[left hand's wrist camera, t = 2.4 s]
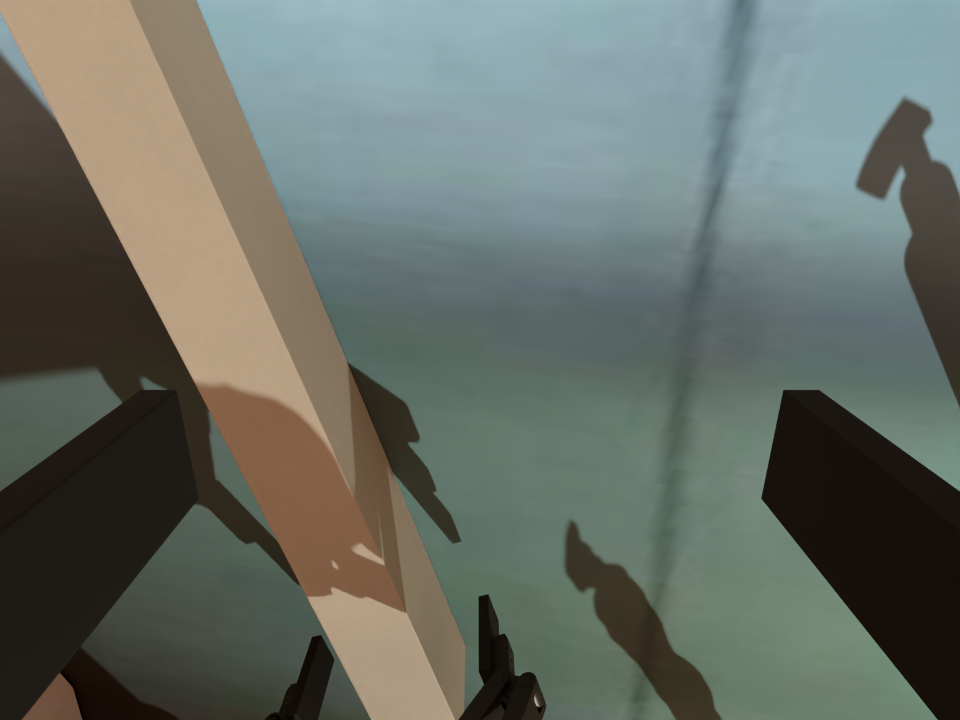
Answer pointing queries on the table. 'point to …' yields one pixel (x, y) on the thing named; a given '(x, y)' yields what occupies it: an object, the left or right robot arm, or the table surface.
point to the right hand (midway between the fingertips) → (404, 628)
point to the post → (248, 327)
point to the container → (56, 703)
